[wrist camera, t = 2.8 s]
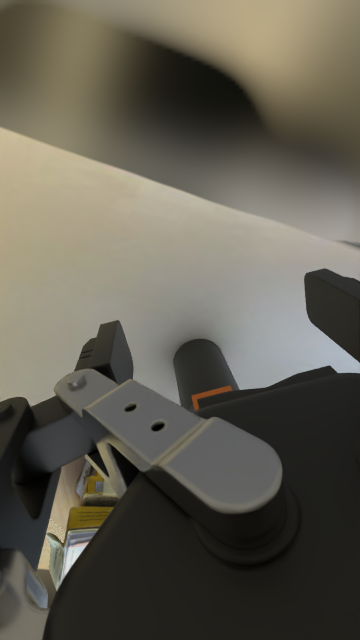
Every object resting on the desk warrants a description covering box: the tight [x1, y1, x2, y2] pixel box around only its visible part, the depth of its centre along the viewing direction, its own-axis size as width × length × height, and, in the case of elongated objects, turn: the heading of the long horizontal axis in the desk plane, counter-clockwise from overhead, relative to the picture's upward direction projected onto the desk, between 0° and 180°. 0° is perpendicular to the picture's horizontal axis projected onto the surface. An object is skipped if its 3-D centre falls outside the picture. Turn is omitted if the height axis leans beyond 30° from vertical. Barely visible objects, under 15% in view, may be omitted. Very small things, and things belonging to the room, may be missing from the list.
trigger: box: [192, 386, 233, 410], centre depth 29 cm, size 1×4×3 cm, turn 103°
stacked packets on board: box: [46, 456, 120, 591], centre depth 43 cm, size 25×25×17 cm
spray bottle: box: [174, 339, 239, 412], centre depth 35 cm, size 9×7×20 cm
